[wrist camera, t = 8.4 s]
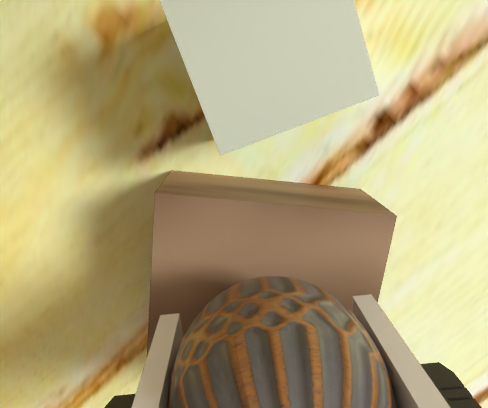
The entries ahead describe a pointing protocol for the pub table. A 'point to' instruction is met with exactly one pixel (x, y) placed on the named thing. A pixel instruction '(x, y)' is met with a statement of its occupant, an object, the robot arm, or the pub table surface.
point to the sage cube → (270, 63)
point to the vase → (278, 352)
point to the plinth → (261, 240)
